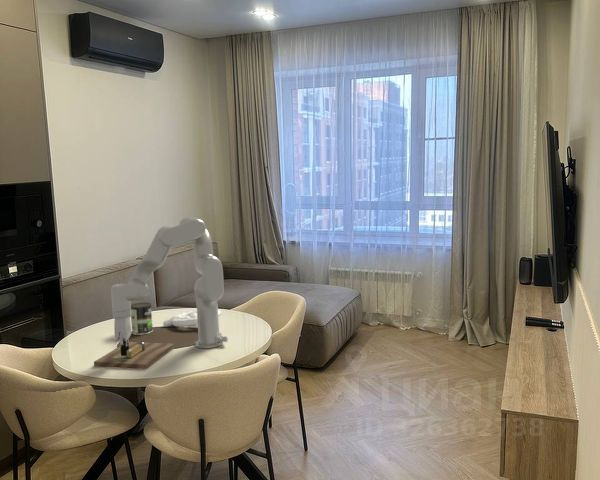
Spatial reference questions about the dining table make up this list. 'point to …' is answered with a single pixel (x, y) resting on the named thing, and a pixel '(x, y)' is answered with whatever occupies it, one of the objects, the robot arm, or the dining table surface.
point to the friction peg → (135, 349)
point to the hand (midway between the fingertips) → (125, 355)
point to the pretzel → (184, 319)
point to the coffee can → (141, 318)
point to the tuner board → (138, 361)
